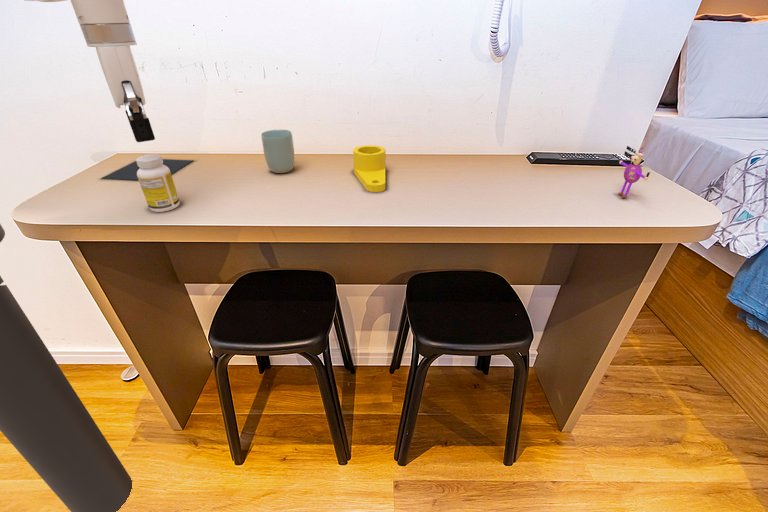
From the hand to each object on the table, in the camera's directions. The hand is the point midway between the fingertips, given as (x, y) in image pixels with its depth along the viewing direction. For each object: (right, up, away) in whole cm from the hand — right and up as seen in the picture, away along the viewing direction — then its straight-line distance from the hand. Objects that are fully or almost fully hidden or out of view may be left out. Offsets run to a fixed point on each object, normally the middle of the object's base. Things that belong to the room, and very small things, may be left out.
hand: (143, 135), depth 77 cm
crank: (+45, -4, +23) cm, 50 cm away
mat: (-16, 0, +28) cm, 32 cm away
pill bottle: (0, -13, +8) cm, 16 cm away
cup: (+20, -1, +28) cm, 34 cm away
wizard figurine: (+104, -10, +13) cm, 105 cm away
